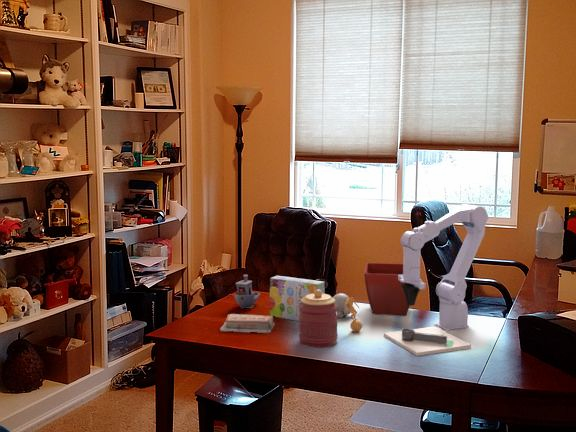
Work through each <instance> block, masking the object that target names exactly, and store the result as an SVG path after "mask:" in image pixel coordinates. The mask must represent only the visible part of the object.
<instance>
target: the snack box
mask: <svg viewBox="0 0 576 432" xmlns="http://www.w3.org/2000/svg"><path fill="white" fill-rule="evenodd" d="M325 285H326V284H325V281H321V280H313V279H309V278H308V279H306V278H297V277H291V276H284V275H282V276H281V275H275V276H272V277H270V278H269V316H275V317H274V318H279V319H284V318H285V320H291V321H297V322H299V315H300V310H299V308H298V307H299V305H300V304H302V302H301V299H302V298H304V297H305V296H306V295H308V294H314V292H315V290H321V291H322V294H326V293H325V292H326V291H325Z"/></svg>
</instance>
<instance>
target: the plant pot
mask: <svg viewBox="0 0 576 432" xmlns="http://www.w3.org/2000/svg"><path fill="white" fill-rule="evenodd" d="M363 275H364V281H365V289H366V294H367V299H368V304H369V307H370V310H371V313H372V315H379V316H399V317H400V316H401V317H403V316H404V317H406V316H407V315H408V312H409V309H410V307H411V306H409V305H407V301H406V297H405V293H404V291H403V289H402V287H401V285H402V284H405V282H400V281H399V280H398V275H403V263H390V262H389V263H386V262H383V263H382V262H381V263H380V262H367V263H366V265H365V269H364V274H363Z"/></svg>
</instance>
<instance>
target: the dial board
mask: <svg viewBox="0 0 576 432" xmlns="http://www.w3.org/2000/svg"><path fill="white" fill-rule="evenodd" d="M412 330H414V332H420V333H428V334H437V335H447V343H446V344H444V343H436V342H427V341H419V340H413V341H405V340H402V330H398V331H389V332H383V337H385V338H386V339H388V340H390V341H392V342H393V343H395V344H396V345H398V346H399V347H402V348H403V349H405V350H407V351H408V352H410V353H412V354H413V355H415V356H416V357H418V356H426V355H431V354H437V353H446V352H452V351H459V350H466V349H472V344H470V343H468V342H467V341H465V340H462V339H460V338H458V337H456V336H454V335H452V334H450V333H448V332H446V331H444V330H442V329H440V328H438V327H436V326H428V327H421V328H419V327H418V328H412Z"/></svg>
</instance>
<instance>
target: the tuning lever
mask: <svg viewBox="0 0 576 432" xmlns="http://www.w3.org/2000/svg"><path fill="white" fill-rule="evenodd" d="M412 329H413V328H412ZM412 329H411V328H404V329H402V330H401V331H402V340H405V341H413V340H419V341H427V342H436V343H444V344H446V343H447V335H437V334H428V333H420V332H414V330H412Z"/></svg>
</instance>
